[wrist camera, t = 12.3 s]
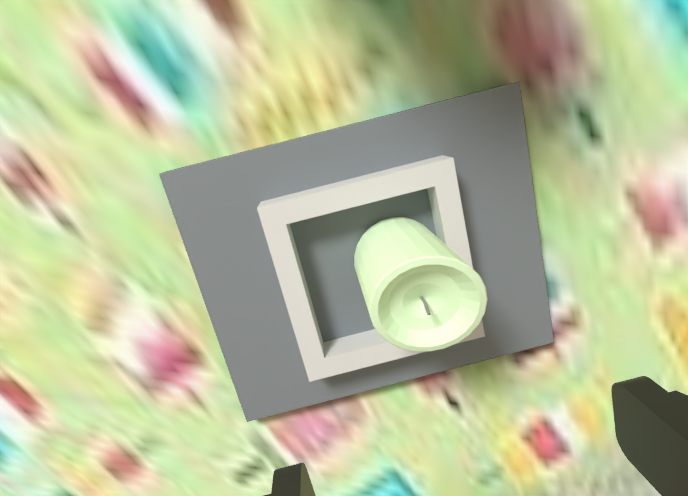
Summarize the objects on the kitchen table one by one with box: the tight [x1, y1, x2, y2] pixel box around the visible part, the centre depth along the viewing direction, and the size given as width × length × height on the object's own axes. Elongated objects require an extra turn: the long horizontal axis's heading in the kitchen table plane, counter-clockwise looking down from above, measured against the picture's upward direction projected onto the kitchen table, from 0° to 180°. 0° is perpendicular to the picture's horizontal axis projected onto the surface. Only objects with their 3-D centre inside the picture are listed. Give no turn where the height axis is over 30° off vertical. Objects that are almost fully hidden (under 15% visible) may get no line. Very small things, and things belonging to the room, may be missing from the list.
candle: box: [354, 217, 488, 351], centre depth 23 cm, size 5×5×8 cm
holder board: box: [159, 82, 554, 422], centre depth 27 cm, size 20×16×3 cm
